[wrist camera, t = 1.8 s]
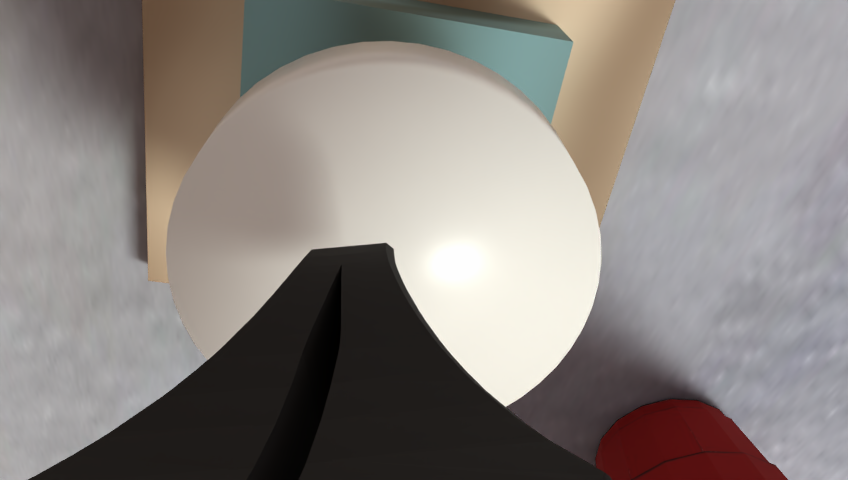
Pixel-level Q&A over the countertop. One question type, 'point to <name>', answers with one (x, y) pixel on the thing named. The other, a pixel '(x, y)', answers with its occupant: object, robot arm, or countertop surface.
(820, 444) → the countertop surface
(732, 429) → the plastic cup
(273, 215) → the disc
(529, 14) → the dispenser base
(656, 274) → the countertop surface
